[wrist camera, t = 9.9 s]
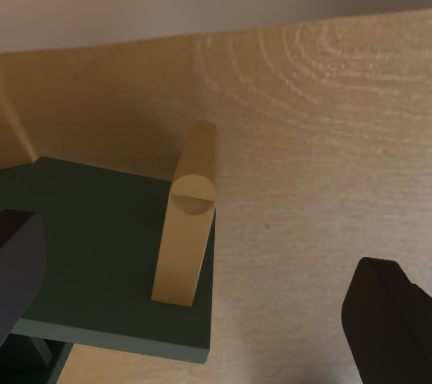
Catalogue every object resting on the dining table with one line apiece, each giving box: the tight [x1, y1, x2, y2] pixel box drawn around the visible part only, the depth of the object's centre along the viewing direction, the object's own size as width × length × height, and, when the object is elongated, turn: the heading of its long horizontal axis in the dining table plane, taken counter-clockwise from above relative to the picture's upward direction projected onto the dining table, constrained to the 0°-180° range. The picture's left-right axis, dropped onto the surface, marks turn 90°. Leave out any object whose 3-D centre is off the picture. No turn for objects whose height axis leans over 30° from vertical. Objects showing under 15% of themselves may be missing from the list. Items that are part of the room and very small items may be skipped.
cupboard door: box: [0, 121, 220, 365], centre depth 21 cm, size 8×14×16 cm, turn 78°
